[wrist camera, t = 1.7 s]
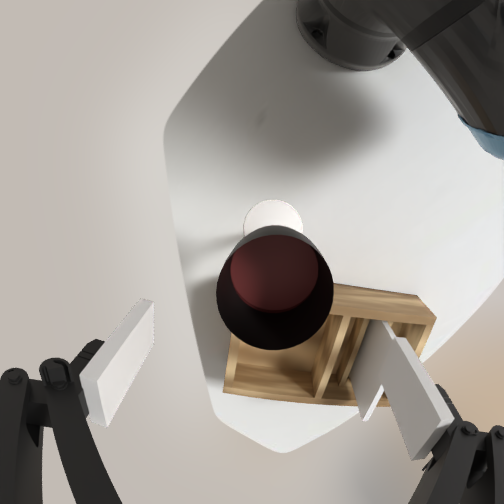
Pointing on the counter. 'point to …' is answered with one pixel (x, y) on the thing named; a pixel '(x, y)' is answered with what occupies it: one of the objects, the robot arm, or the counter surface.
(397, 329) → the wooden divided tray
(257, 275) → the wineglass
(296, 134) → the counter surface
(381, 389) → the white flat panel
